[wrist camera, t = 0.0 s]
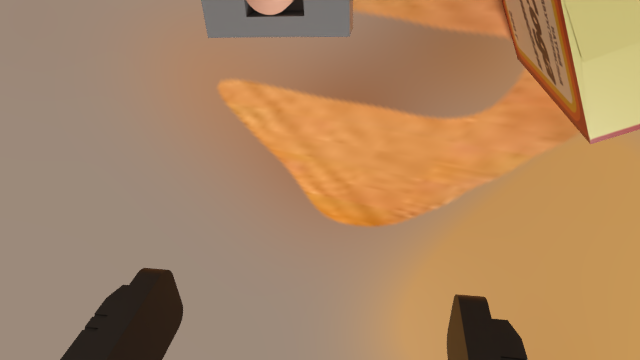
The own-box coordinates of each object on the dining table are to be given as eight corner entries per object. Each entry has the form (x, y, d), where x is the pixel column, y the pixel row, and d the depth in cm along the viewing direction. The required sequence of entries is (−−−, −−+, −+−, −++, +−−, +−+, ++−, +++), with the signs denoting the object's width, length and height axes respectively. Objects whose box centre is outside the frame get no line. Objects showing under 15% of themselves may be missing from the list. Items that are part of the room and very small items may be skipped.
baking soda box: (604, 24, 33) (748, 100, 19) (517, 58, 35) (593, 147, 22) (583, -105, 29) (746, -121, 15) (486, -57, 31) (556, -34, 18)
